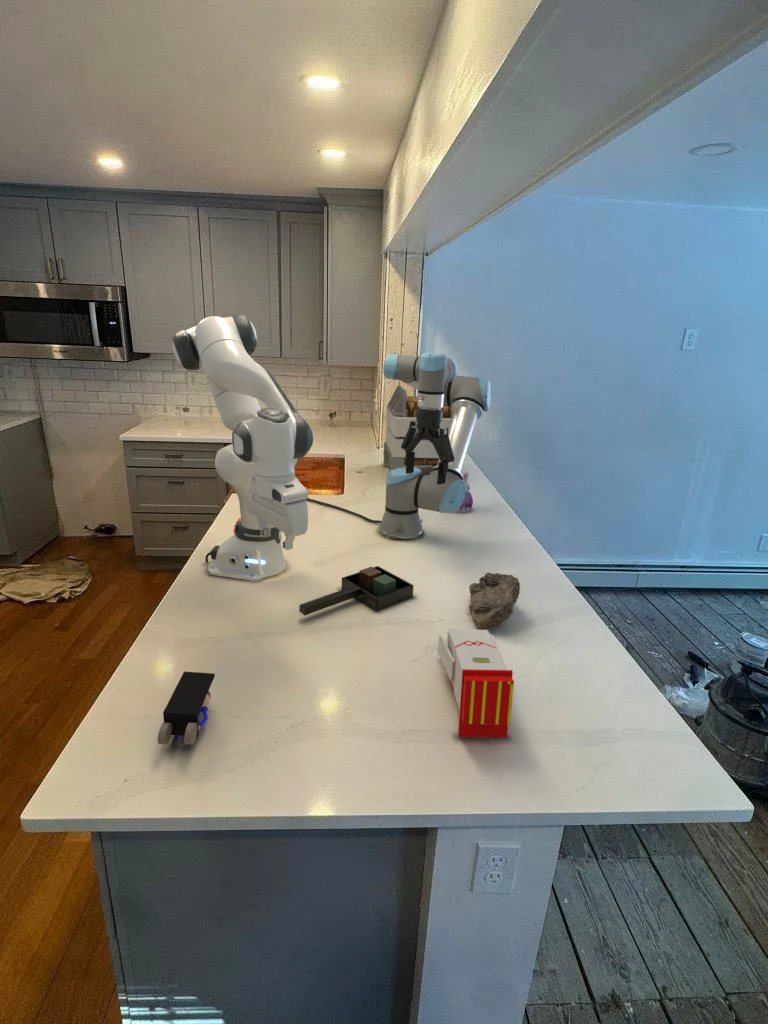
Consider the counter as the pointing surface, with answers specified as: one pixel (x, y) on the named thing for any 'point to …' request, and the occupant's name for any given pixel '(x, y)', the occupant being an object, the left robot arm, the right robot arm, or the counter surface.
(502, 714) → the toy
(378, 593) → the green block
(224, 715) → the counter surface
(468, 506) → the figurine
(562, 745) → the counter surface
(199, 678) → the figurine character
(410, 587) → the pan
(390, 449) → the transformer
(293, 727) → the counter surface
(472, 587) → the fossil
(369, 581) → the walnut block
